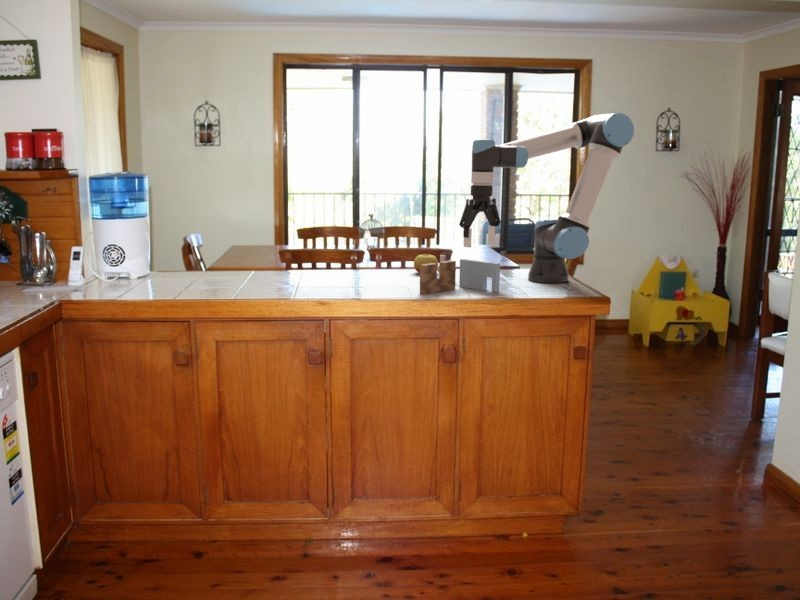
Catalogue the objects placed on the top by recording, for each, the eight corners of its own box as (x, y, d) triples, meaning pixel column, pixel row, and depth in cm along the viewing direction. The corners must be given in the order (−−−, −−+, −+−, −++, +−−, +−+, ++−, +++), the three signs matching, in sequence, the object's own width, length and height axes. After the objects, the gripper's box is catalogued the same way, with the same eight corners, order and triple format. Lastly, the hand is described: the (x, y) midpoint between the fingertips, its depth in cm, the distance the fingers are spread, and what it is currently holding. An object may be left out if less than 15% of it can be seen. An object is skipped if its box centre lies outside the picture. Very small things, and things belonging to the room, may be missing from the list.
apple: (438, 275, 299) (438, 255, 298) (413, 275, 299) (413, 254, 298) (437, 271, 309) (437, 252, 307) (413, 271, 309) (413, 251, 308)
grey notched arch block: (459, 286, 274) (459, 259, 272) (463, 285, 275) (464, 258, 274) (495, 292, 263) (495, 263, 261) (499, 291, 265) (500, 263, 263)
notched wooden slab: (449, 288, 270) (450, 260, 269) (455, 289, 269) (455, 261, 267) (419, 293, 259) (420, 264, 257) (424, 294, 257) (425, 265, 256)
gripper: (494, 183, 274) (492, 242, 278) (450, 184, 256) (448, 247, 260) (511, 184, 269) (509, 244, 272) (467, 185, 251) (465, 249, 255)
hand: (479, 245), depth 266 cm, fingers open, 13 cm apart
